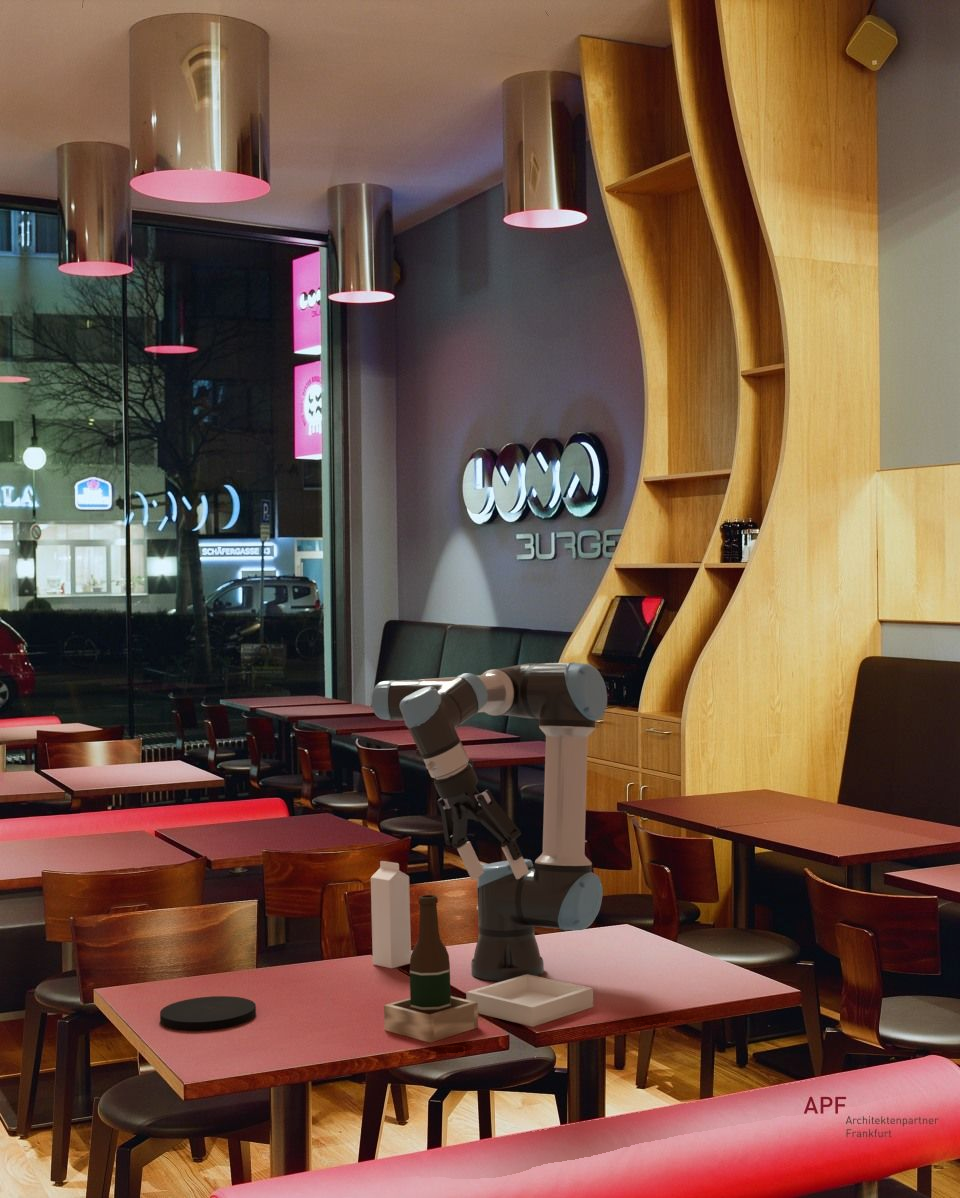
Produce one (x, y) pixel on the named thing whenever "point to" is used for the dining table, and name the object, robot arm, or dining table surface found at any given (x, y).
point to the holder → (431, 1020)
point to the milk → (390, 916)
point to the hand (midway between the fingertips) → (499, 876)
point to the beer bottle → (429, 963)
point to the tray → (531, 999)
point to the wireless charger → (207, 1013)
